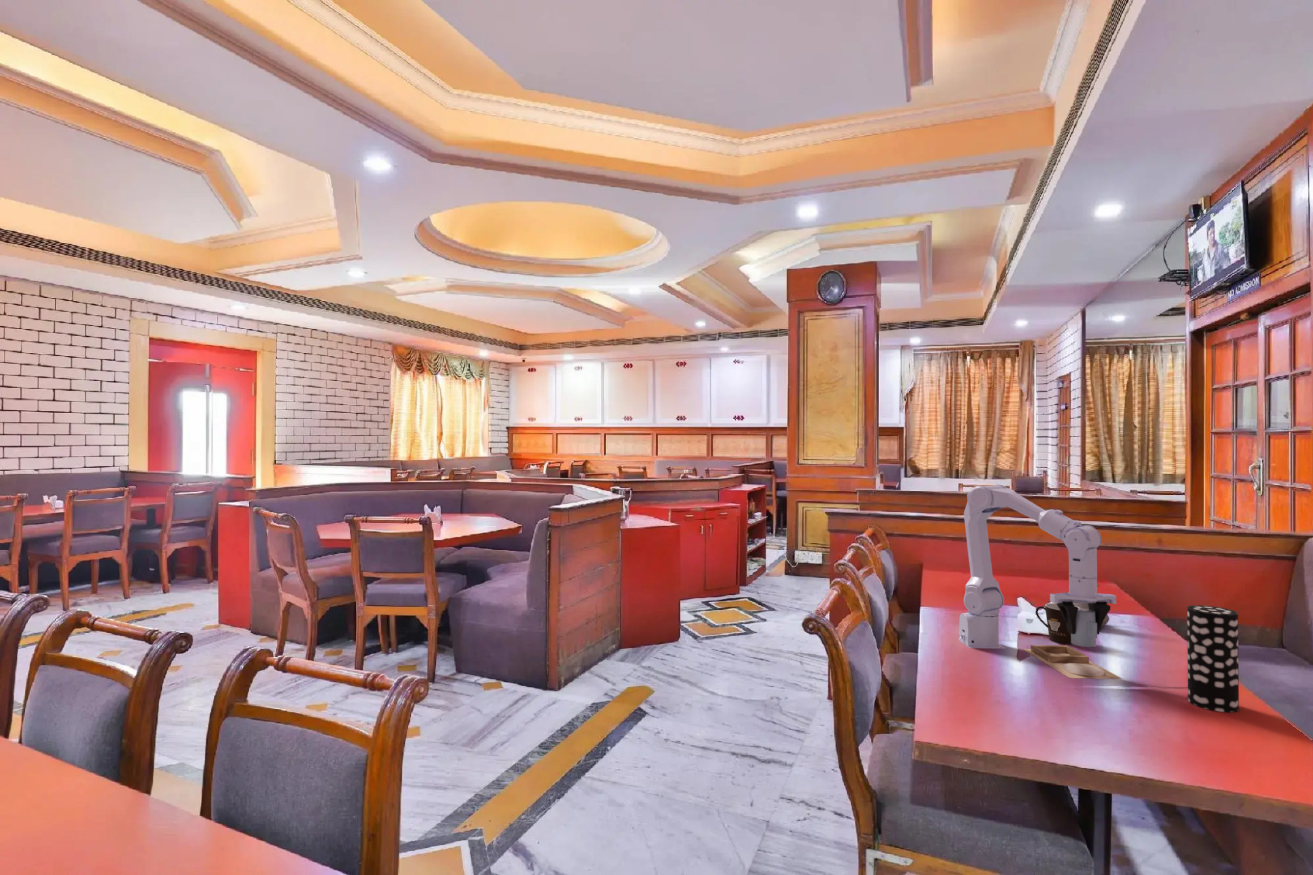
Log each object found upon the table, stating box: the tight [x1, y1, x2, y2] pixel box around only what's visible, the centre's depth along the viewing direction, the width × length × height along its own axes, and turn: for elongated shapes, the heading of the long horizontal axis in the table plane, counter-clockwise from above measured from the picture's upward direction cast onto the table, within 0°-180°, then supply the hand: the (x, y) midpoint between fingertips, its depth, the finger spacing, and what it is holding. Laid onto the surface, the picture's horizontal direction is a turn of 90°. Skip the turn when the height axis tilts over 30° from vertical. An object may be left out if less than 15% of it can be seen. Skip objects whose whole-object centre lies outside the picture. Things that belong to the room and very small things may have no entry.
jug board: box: [1022, 644, 1123, 680], centre depth 167 cm, size 12×22×2 cm, turn 178°
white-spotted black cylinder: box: [1186, 604, 1240, 713], centre depth 142 cm, size 8×8×20 cm
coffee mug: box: [1035, 602, 1079, 646], centre depth 187 cm, size 12×9×10 cm
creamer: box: [1071, 608, 1098, 648], centre depth 160 cm, size 7×5×8 cm
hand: (1083, 633), depth 161 cm, fingers closed on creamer, 5 cm apart
